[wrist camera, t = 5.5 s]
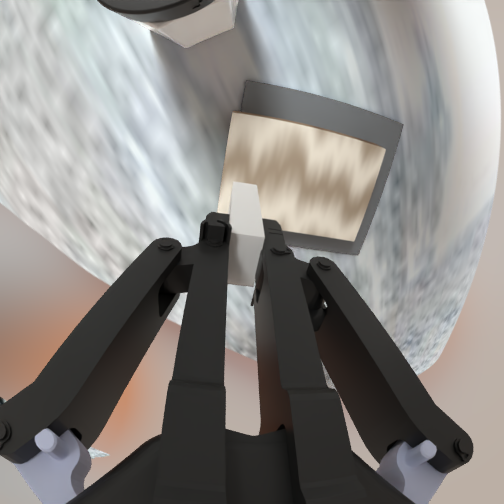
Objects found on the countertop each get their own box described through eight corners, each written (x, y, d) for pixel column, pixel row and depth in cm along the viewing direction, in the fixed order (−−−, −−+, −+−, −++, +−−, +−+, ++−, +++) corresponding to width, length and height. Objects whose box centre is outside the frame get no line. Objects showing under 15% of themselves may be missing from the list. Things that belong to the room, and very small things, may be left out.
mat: (246, 80, 21) (246, 80, 21) (401, 124, 23) (403, 124, 23) (221, 235, 30) (221, 236, 30) (357, 253, 32) (358, 255, 32)
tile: (232, 112, 20) (386, 149, 22) (233, 110, 23) (374, 143, 24) (215, 221, 26) (354, 241, 28) (217, 209, 28) (346, 229, 30)
